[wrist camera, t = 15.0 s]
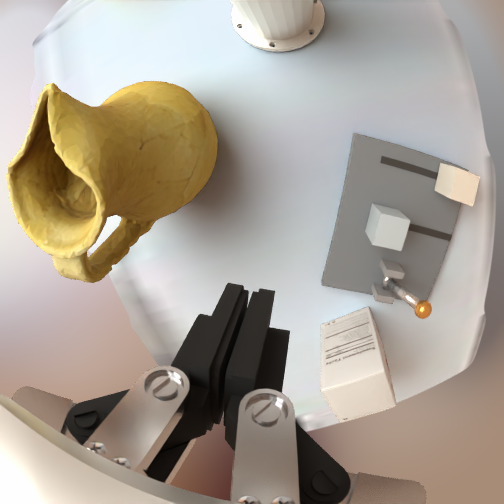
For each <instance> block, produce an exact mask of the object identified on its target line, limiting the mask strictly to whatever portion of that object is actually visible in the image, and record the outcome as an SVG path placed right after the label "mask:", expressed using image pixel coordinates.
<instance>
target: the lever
mask: <svg viewBox="0 0 504 504" xmlns="http://www.w3.org/2000/svg"><path fill="white" fill-rule="evenodd" d="M380 287H381V288H382V289H385V290H387V289H388V288H389V289H390V290H392V291H393V292H394V293H395V294H397V295H398V296H399V297H400V298H402V299H403V300H404V301H405V302H406V303H408V304H409V305H410V306H411V307H412V308H414V309H415V314H416V316H417V317H419V318H421V319H424V318H427V317H428V316H429V315H430V314H431V311H432V307H431V304H430V303H429V302H428V301H426V300H420V299H418V298H417V297H416V296H414V295H413V294H412V293H411V292H409V291H408V290H407V289H406V288H404V287H403V286H402V285H400V284H399V283H398V282H396V281H395V280H394V279H392V277H387V276H384V278H383V281H382V283H381V286H380Z"/></svg>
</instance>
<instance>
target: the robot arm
mask: <svg viewBox="0 0 504 504" xmlns="http://www.w3.org/2000/svg"><path fill="white" fill-rule="evenodd" d="M229 1H230V2H231V4H232V5H233V8H232V14H231V18H232V23H233V26H234V28H235V30H236V32H237V33H238V34H239V36H240V37H241V38H242V39H243V40H244V41H246V42H247V43H249V44H250V45H252V46H254V47H256V48H259V49H262V50H266V51H273V52H285V51H291V50H295V49H298V48H301V47H303V46H305V45H307V44H309V43H310V42H311V41H312V40H314V39H315V38H316V37H317V36H318V34H319V33H320V31H321V29H322V27H323V24H324V19H325V12H324V7H323V5H322V2H321V1H320V0H229ZM314 2H315V3H314ZM240 27H242V28H240ZM239 28H240V29H239ZM309 33H313V35H311V34H309ZM272 45H275V47H272ZM248 294H249V291H248V290H244V286H243V285H237V284H232V283H228V284H227V285H226V288H225V290H224V292H223V294H222V296H221V298H220V300H219V302H218V304H217V306H216V308H215V310H214V312H213V314H212V316H208V315H203V314H200V315H198V317H197V318H196V320H195V322H194V324H193V326H192V328H191V329H190V331H189V333H188V335H187V337H186V339H185V340H184V342H183V344H182V346H181V348H180V350H179V351H178V353H177V355H176V357H175V359H174V361H173V363H172V364H171V366H157V367H154V368H151V369H149V370H147V371H146V372H145V373H144V374H143V375H142V376H141V377H140V378H139V380H138V381H137V382H136V383H135V384H134V386H133V387H132V388H131V389H129V390H125V391H121V392H118V393H115V394H111V395H107V396H103V397H100V398H96V399H92V400H88V401H84V402H81V403H78V404H76V403H74V402H73V400H71V399H67V398H63V397H60V396H57V395H54V394H51V393H47V392H44V391H41V390H39V389H35V388H33V387H28V386H26V387H22V388H20V389H18V390H17V391H16V392H15V394H14V395H13V397H12V399H9V398H8V397H6V396H4V395H2V394H0V504H425V503H426V491H425V489H424V487H423V486H422V485H421V484H420V483H419V482H416V481H412V480H404V479H396V478H389V477H382V476H376V475H371V474H365V473H360V472H359V473H358V474H353V473H349V472H346V471H345V469H344V468H343V467H342V466H340V465H339V464H338V463H337V462H336V461H335V460H334V459H333V458H332V457H331V456H330V455H329V454H328V453H327V452H325V451H324V450H323V449H322V448H321V447H320V446H319V445H318V444H317V443H316V442H315V441H314V440H313V439H312V438H311V437H310V436H309V435H308V434H307V433H306V432H305V431H304V430H303V429H302V428H301V427H300V426H299V425H298V424H297V423H296V422H295V412H294V407H293V404H292V402H291V401H290V399H289V398H288V397H287V396H285V395H284V394H283V393H282V387H283V380H284V373H285V366H286V358H287V351H288V343H289V335H290V331H288V330H282V329H276V328H270V327H269V325H270V319H271V313H272V307H273V301H274V294H275V291H272V290H266V289H259V292H254V291H253V293H252V296H251V299H250V302H249V305H248V308H247V304H248ZM223 412H224V426H226V428H225V440H226V441H227V442H228V444H229V445H230V446H231V448H232V449H233V450H234V461H233V472H232V484H231V496H230V497H231V498H230V501H226V500H221V499H217V498H213V497H209V496H204V495H201V494H197V493H194V492H190V491H187V490H184V489H180V488H177V487H174V486H171V485H169V484H170V483H171V481H172V479H173V478H174V476H175V475H176V473H177V471H178V470H179V468H180V466H181V465H182V463H183V461H184V459H185V458H186V456H187V455H188V453H189V451H190V450H191V448H192V446H193V445H194V443H195V440H196V438H197V437H200V436H202V435H205V434H206V431H207V430H210V431H211V430H212V427H213V424H214V423H215V424H220V421H221V418H222V415H223Z"/></svg>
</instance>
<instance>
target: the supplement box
mask: <svg viewBox="0 0 504 504" xmlns="http://www.w3.org/2000/svg"><path fill="white" fill-rule="evenodd" d="M320 392H321V393H322V395H323V396H324V398H325V399H326V401H327V403H328V404H329V406H330V408H331V410H332V411H333V412H334V414H335V415H336V417H337V419H338V420H339V422H340V423H342V422H346V421H349V420H353V419H356V418H360V417H363V416H366V415H370V414H374V413H377V412H381V411H384V410H387V409H390V408H392V407H395V406H396V401H395V396H394V391H393V386H392V381H391V377H390V372H389V368H388V364H387V360H386V356H385V352H384V348H383V345H382V341H381V338H380V335H379V332H378V329H377V327H376V324H375V321H374V318H373V316H372V313H371V311H370V308H369V307H365V308H363V309H360V310H358V311H355V312H353V313H350V314H348V315H345V316H342V317H340V318H337V319H335V320H332V321H329V322H327V323H324V324H321V378H320Z"/></svg>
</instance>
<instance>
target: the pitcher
mask: <svg viewBox="0 0 504 504" xmlns="http://www.w3.org/2000/svg"><path fill="white" fill-rule="evenodd" d="M217 147H218V140H217V133H216V129H215V126H214V124H213V122H212V120H211V117H210V115H209V112H208V111H207V110H205V109H204V107H203V106H202V105H201V104H200V103H199V102H198V101H197V100H196V99H195V98H194V97H193V96H192V95H191V93H189V92H188V91H187V90H186V89H184V88H182V87H179V86H177V85H174V84H169V83H167V82H159V81H144V82H139V83H136V84H133V85H130V86H127V87H125V88H123V89H121V90H119V91H117V92H116V93H114V94H113V95H112V96H110V97H109V98H108V99H107V100H106V101H105V102H104V103H103V104H102V105H100V106H99V107H91V106H88V105H86V104H84V103H82V102H80V101H78V100H76V99H74V98H72V97H71V96H70V95H68V94H67V93H64V92H62V91H61V90H60V89H59V88H58V87H57V86H56V85H55V84H54V83H52V84H47V85H46V86H45V88H44V89H43V91H42V92H41V94H40V95H39V98H38V102H37V104H36V107H35V111H34V114H33V117H32V120H31V124H30V126H29V129H28V132H27V135H26V138H25V140H24V142H23V144H22V146H21V148H20V150H19V151H18V153H17V154H16V156H15V157H14V158H13V159H12V161H11V162H10V163H9V165H8V174H7V175H6V177H7V185H8V189H9V198H10V201H11V203H12V207H13V210H14V212H15V215H16V218H17V220H18V223H19V224H21V226H22V228H23V230H24V231H25V233H26V234H27V235H28V236H29V238H30V239H31V240H32V241H33V242H34V243H35V244H36V245H37V246H38V247H40V248H41V249H42V250H44V251H45V252H46V253H48V254H50V255H52V258H53V262H54V267H55V268H56V269H57V271H58V272H59V274H60V275H61V276H64V277H66V278H70V279H75V280H76V279H77V280H81V281H84V282H90V283H94V282H97V281H100V280H101V279H102V278H104V277H105V275H106V274H108V273H109V272H110V271H111V270H112V267H111V266H112V265H114V264H117V263H118V262H119V261H120V260H121V259H122V258H123V257H124V256H125V255H126V254H128V252H129V249H130V248H129V247H131V246H132V245H134V244H135V243H136V242H137V241H138V239H139V237H140V236H142V235H143V234H145V233H147V232H148V231H149V230H150V229H151V227H152V225H153V224H154V222H155V221H156V220H158V219H160V218H162V217H164V216H167V215H169V214H171V213H174V212H176V211H177V210H178V209H179V208H181V207H182V206H184V205H185V204H187V203H189V202H190V201H191V200H193V198H194V197H195V196H196V195H197V194H198V193H199V192H200V191H201V190H202V189H203V187H204V186H205V185H206V183H207V181H208V180H209V178H210V176H211V174H212V171H213V169H214V166H215V163H216V158H217ZM113 215H118V216H120V217H121V222H120V224H119V226H118V227H117V228H116V229H115V231H114V232H113V233H112V234H111V235H110V236H109V237H108V238H107V239H106V241H105V242H103V243H102V244H101V245H100V246H99V247H98V248H97V250H96V251H95V252H94V253H93V254H92V255H91V256H90V257H87V250H88V249H89V248H90V247H91V246H92V245H93V244H94V243H96V241H97V239H98V237H99V235H100V233H101V232H102V230H103V227H104V225H105V223H106V220H107V217H110V216H113Z"/></svg>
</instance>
